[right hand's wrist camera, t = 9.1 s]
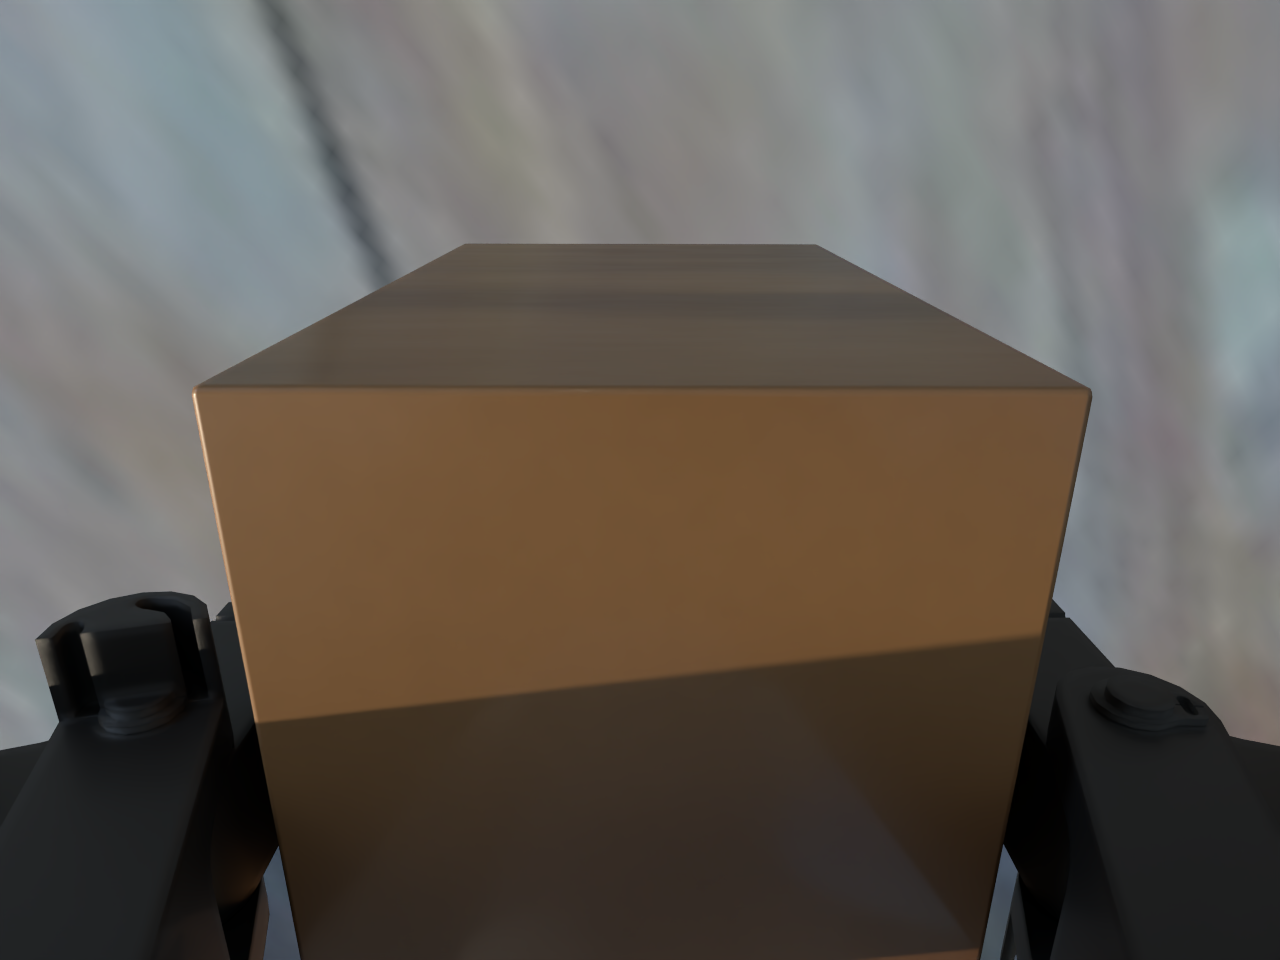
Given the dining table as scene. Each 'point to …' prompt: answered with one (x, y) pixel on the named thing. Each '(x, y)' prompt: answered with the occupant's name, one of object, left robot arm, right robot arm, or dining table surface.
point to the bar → (641, 605)
